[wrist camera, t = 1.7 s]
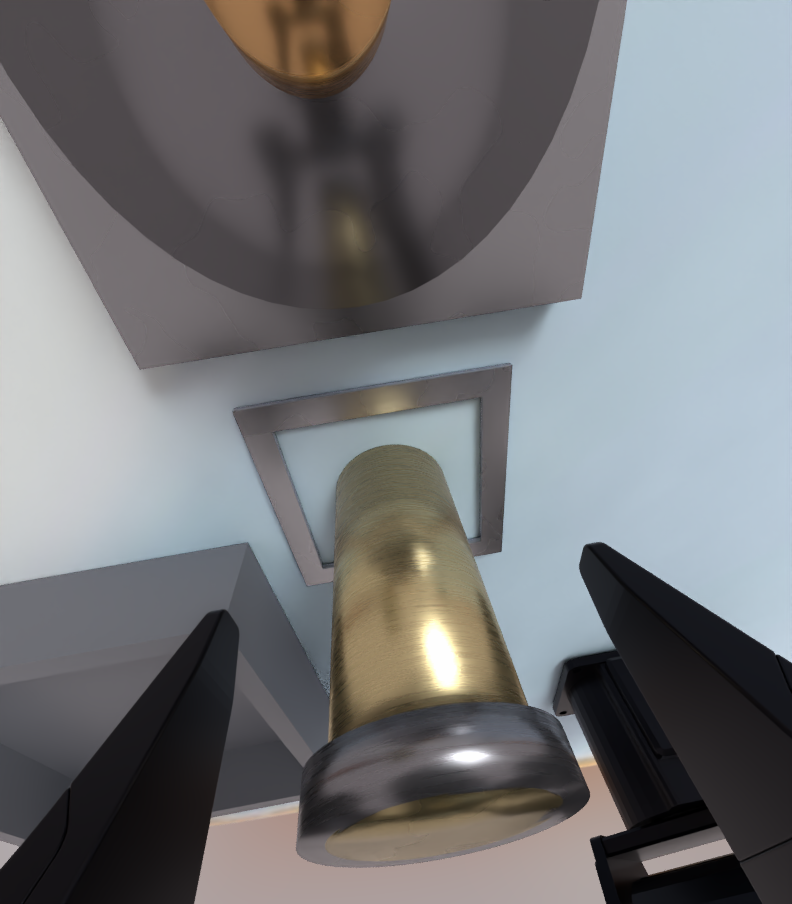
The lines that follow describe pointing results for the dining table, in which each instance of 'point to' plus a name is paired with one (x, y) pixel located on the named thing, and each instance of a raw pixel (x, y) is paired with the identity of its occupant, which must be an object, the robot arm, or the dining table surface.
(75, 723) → the tray
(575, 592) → the dining table surface
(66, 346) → the dining table surface
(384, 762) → the gold cylinder with rim
